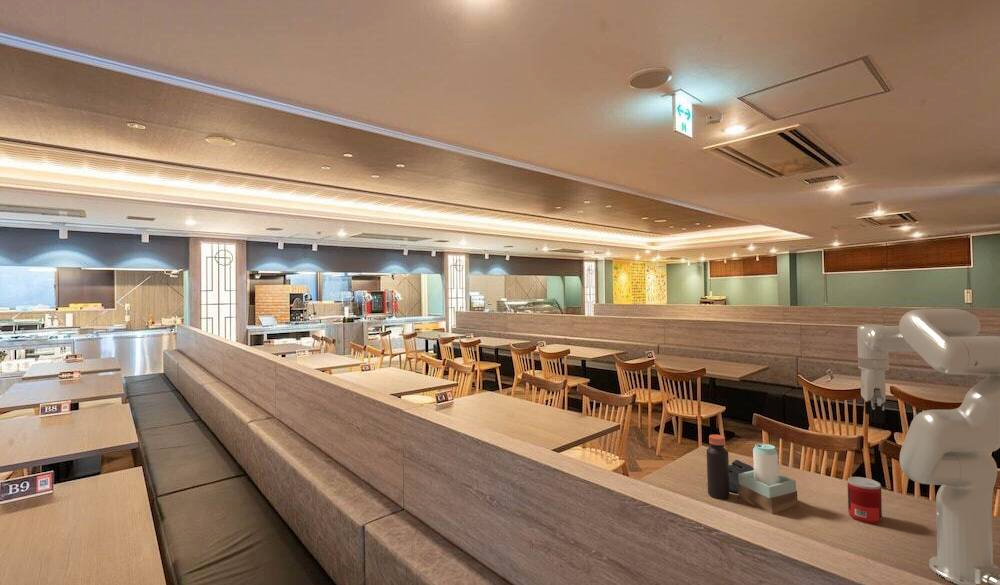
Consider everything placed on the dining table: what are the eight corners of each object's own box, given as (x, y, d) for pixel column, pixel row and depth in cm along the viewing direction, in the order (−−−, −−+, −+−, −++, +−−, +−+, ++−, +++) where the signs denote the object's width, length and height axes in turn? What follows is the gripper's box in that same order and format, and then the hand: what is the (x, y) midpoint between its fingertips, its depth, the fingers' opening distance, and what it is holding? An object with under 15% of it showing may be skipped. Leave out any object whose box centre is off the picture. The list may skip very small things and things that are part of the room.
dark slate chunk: (702, 486, 166) (702, 472, 166) (724, 467, 182) (724, 455, 182) (748, 498, 155) (748, 484, 155) (768, 478, 171) (767, 465, 171)
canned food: (888, 525, 135) (887, 487, 135) (857, 523, 137) (856, 486, 136) (872, 512, 142) (871, 477, 142) (843, 511, 144) (842, 475, 144)
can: (757, 486, 149) (756, 448, 150) (751, 477, 156) (750, 442, 156) (782, 487, 148) (780, 449, 148) (774, 479, 154) (773, 443, 155)
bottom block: (797, 506, 149) (797, 490, 149) (772, 514, 144) (771, 498, 144) (763, 491, 160) (762, 477, 160) (738, 499, 155) (738, 484, 155)
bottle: (727, 491, 160) (725, 434, 160) (731, 500, 153) (729, 440, 153) (706, 489, 162) (704, 433, 162) (709, 498, 155) (707, 439, 155)
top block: (796, 491, 148) (795, 480, 148) (769, 498, 144) (769, 487, 144) (764, 478, 159) (763, 467, 159) (738, 484, 155) (738, 473, 155)
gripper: (853, 359, 154) (855, 410, 154) (863, 367, 139) (864, 424, 139) (882, 360, 150) (884, 412, 150) (895, 369, 135) (896, 427, 135)
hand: (874, 418), depth 145 cm, fingers open, 9 cm apart
